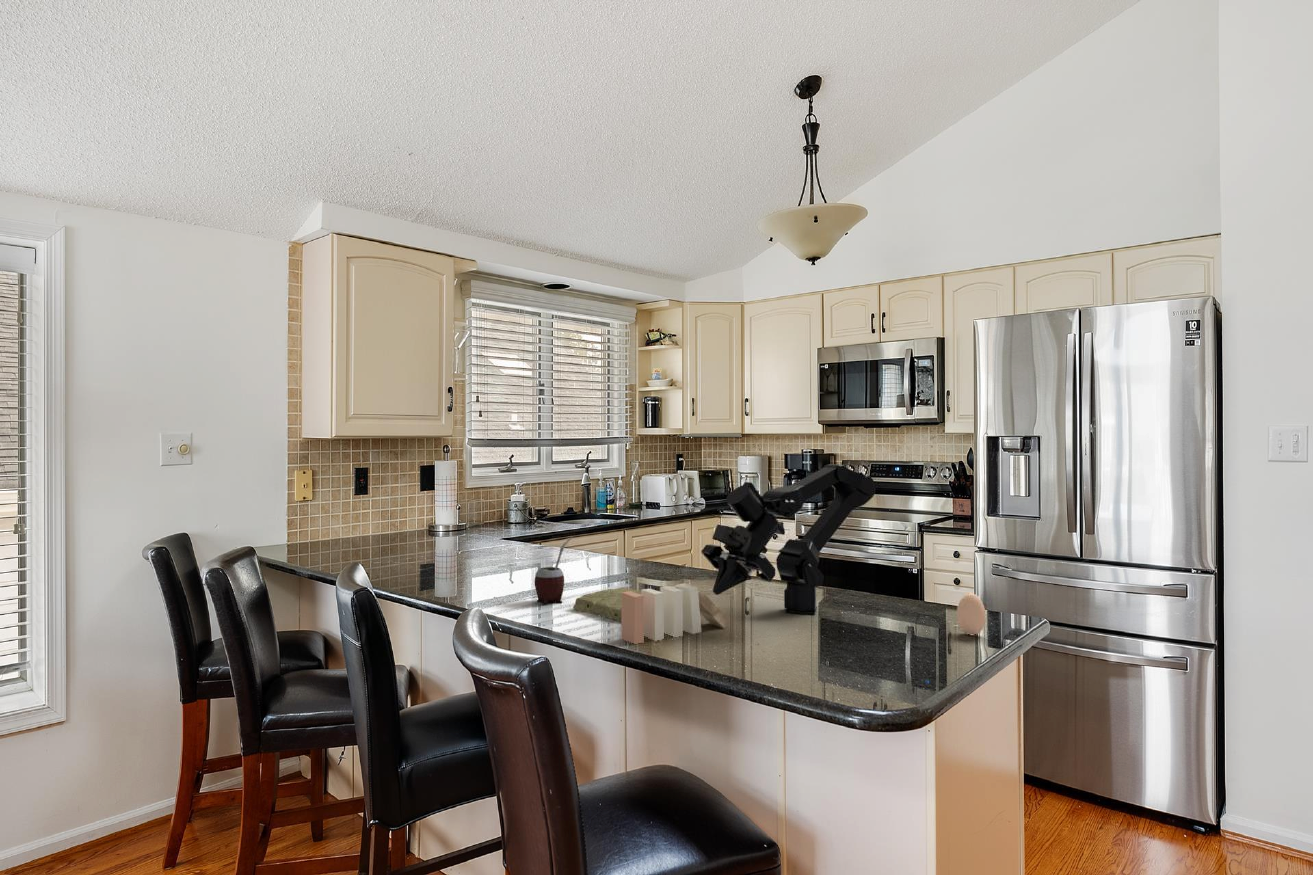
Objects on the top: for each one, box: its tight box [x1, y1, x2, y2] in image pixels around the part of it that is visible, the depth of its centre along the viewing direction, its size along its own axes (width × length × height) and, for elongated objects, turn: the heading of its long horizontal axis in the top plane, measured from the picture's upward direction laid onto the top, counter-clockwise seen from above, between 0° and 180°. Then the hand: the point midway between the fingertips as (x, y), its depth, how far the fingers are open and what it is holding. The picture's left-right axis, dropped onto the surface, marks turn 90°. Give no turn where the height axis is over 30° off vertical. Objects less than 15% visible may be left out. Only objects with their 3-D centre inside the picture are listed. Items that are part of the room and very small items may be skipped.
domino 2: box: [641, 588, 665, 642], centre depth 141 cm, size 2×5×9 cm, turn 33°
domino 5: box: [698, 591, 731, 629], centre depth 148 cm, size 2×5×9 cm
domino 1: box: [620, 591, 645, 645], centre depth 138 cm, size 2×5×9 cm, turn 33°
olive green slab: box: [572, 586, 642, 621], centre depth 164 cm, size 19×20×4 cm
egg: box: [956, 592, 987, 635], centre depth 142 cm, size 5×5×8 cm
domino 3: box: [659, 585, 684, 638], centre depth 143 cm, size 2×5×9 cm, turn 33°
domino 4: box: [674, 582, 702, 635], centre depth 145 cm, size 2×5×9 cm, turn 33°
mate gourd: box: [534, 537, 572, 606], centre depth 172 cm, size 8×8×15 cm
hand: (714, 593), depth 149 cm, fingers closed
